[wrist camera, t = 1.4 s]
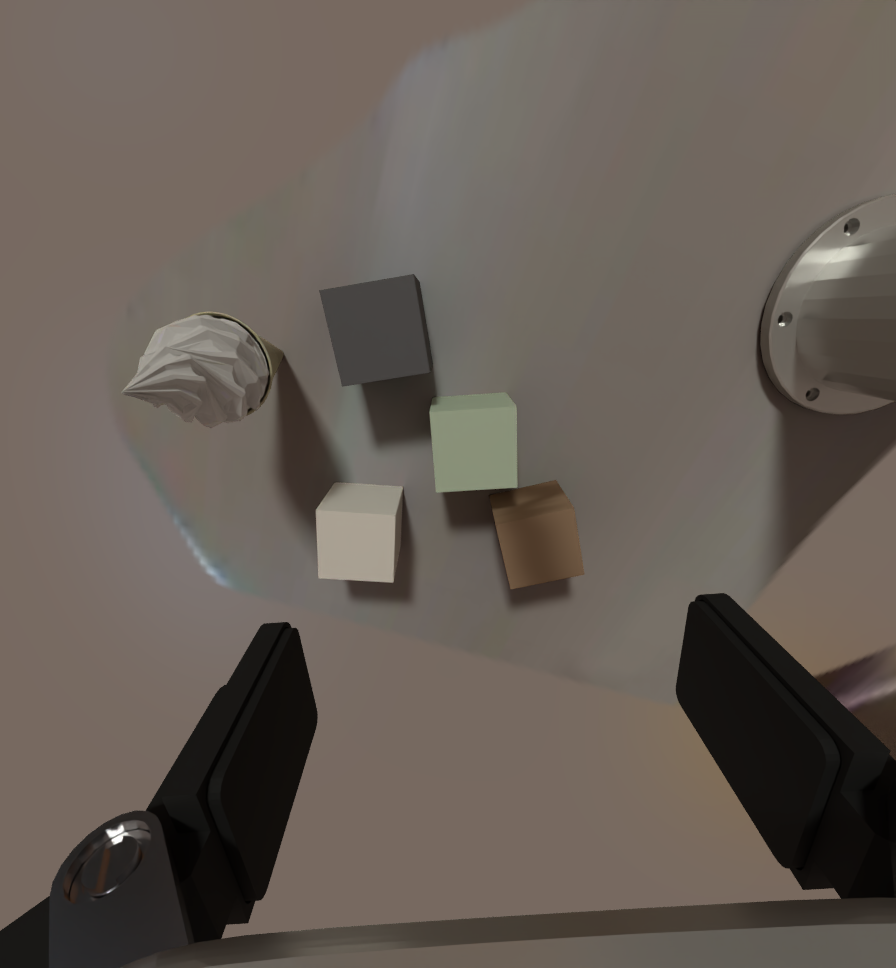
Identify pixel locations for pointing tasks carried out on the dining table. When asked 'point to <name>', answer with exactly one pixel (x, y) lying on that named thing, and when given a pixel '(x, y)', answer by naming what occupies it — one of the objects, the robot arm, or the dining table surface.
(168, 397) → the ice cream cone
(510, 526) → the walnut block
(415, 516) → the dining table surface
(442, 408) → the sage block
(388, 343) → the black block
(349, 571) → the offwhite block
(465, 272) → the dining table surface
